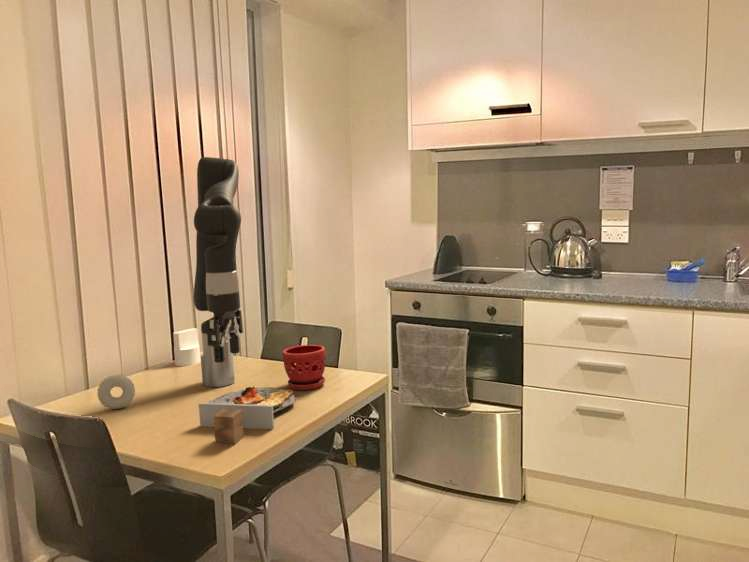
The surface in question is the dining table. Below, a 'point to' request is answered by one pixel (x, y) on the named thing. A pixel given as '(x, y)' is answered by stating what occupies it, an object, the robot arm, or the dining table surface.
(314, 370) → the plant pot
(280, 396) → the food plate
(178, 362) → the base with upright slab
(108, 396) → the donut
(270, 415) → the grey divider panel
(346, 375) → the dining table surface
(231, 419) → the walnut block
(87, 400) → the dining table surface
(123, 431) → the dining table surface
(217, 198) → the robot arm
